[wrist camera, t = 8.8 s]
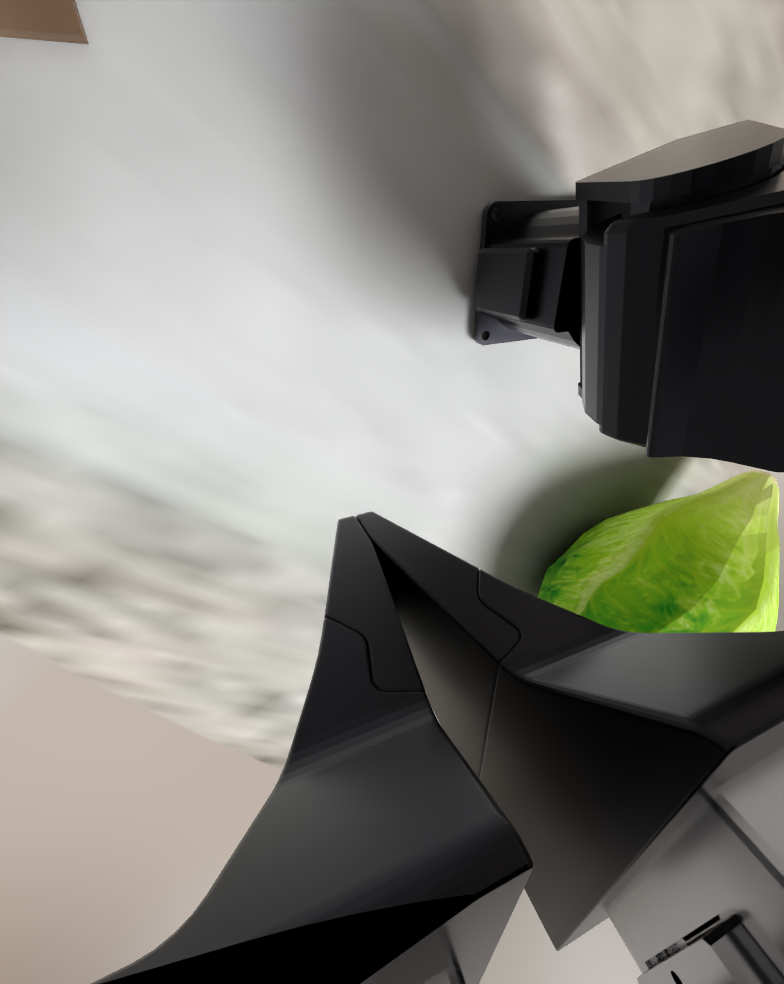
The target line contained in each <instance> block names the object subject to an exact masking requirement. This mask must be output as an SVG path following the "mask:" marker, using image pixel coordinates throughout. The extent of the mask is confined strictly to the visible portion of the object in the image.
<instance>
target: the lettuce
mask: <svg viewBox="0 0 784 984" xmlns="http://www.w3.org/2000/svg"><path fill="white" fill-rule="evenodd" d="M778 511H779V488H778V484H777V480H776V479H775V477H774V476H773V475H771V474H770V473H767V472H762V471H748V472H745V473H741V474H739V475H737V476H735V477H733V478H731V479H729V480H727V481H725V482H722V483H720V484H718V485H716V486H714V487H712V488H710V489H708V490H705V491H703V492H701V493H699V494H697V495H692V496H687V497H682V498H677V499H672V500H668V501H664V502H661V503H657V504H653V505H650V506H646V507H643V508H639V509H635V510H632V511H629V512H626V513H623V514H620V515H617V516H614V517H611V518H608V519H606V520H604V521H602V522H601V523H599V524H598V525H596V526H594V527H593V528H591V529H590V530H588V531H586V532H585V533H583V534H582V535H581V536H580V537H579V538H578V540H577V541H576V542H575V543H574V544H573V545H572V546H571V547H570V548H569V549H568V550H567V551H566V552H565V553H564V554H563V555H562V556H561V557H560V558H559V559H557V560H556V561H555V562H554V563H553V564H552V565H551V566H550V567H549V568H548V569H547V570H546V573H545V576H544V579H543V582H542V585H541V588H540V590H539V593H538V596H537V597H538V598H541V599H543V600H545V601H548V602H550V603H552V604H555V605H557V606H559V607H562V608H564V609H566V610H569V611H571V612H574V613H576V614H578V615H581V616H583V617H585V618H588V619H590V620H592V621H595V622H597V623H600V624H602V625H605V626H608V627H611V628H614V629H618V630H622V631H627V632H635V633H712V632H774V631H775V629H776V623H777V617H778V603H779V551H780V544H779V535H778V527H777V522H778Z"/></svg>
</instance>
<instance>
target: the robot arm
mask: <svg viewBox="0 0 784 984" xmlns="http://www.w3.org/2000/svg"><path fill="white" fill-rule="evenodd" d="M576 199H577V200H562V201H497V202H492V203H489V204H488V205H487V206H486V207H485V209H484V211H483V216H482V230H481V244H480V252H479V254H478V261H477V276H476V290H475V308H476V315H475V330H474V339H475V341H476V342H477V343H479V344H481V345H489V344H497V343H504V342H512V341H519V340H527V339H534V338H541V339H544V340H548V341H552V342H555V343H559V344H563V345H566V346H570V347H574V348H577V349H580V382H579V384H578V394H579V396H580V397H581V398H582V402H583V406H584V410H585V413H586V414H587V415H589V416H590V417H591V418H592V419H593V420H594V421H595V422H596V423H597V424H599V430H600V432H601V433H603V434H605V435H607V436H609V437H612V438H614V439H617V440H619V441H623V442H627V443H631V444H635V445H639V446H643V447H646V456H648V457H675V456H686V457H699V458H711V459H717V460H722V461H728V462H733V463H737V464H742V465H746V466H751V467H755V468H760V469H764V470H768V471H773V472H784V129H783V128H779V127H775V126H771V125H767V124H763V123H759V122H755V121H751V120H746V121H742V122H738V123H734V124H731V125H727V126H724V127H720V128H716V129H713V130H709V131H706V132H702V133H699V134H695V135H692V136H688V137H684V138H681V139H678V140H675V141H672V142H670V143H668V144H665V145H663V146H660V147H658V148H656V149H653V150H651V151H648V152H646V153H644V154H641V155H639V156H636V157H634V158H632V159H629V160H627V161H624V162H622V163H620V164H617V165H615V166H612V167H610V168H608V169H605V170H603V171H600V172H598V173H596V174H593V175H591V176H588V177H586V178H584V179H581V180H579V181H577V182H576ZM493 210H495V211H496V217H495V219H494V220H493V219H492V215H491V214H492V211H493ZM484 331H486V335H485V337H484V338H483V339H482V334H483V332H484ZM432 709H433V710H432ZM433 711H434V712H433ZM434 713H435V714H434ZM435 715H436V716H435ZM436 717H437V718H436ZM437 719H438V720H437ZM438 721H439V722H440V724H441V725H440V724H439V722H438ZM441 726H442V727H441ZM523 889H525V890H526V893H527V894H528V896H529V898H530V900H531V902H532V904H533V906H534V908H535V910H536V912H537V914H538V916H539V918H540V920H541V922H542V924H543V926H544V928H545V929H546V931H547V933H548V935H549V937H550V939H551V941H552V943H553V945H554V947H555V948H556V950H557V951H559V950H560V949H561V948H563V947H565V946H566V945H568V944H569V943H571V942H572V941H574V940H575V939H577V938H578V937H580V936H581V935H583V934H584V933H586V932H587V931H589V930H590V929H592V928H593V927H595V926H596V925H598V924H599V923H601V922H602V921H604V920H605V919H607V918H608V917H610V919H611V921H612V922H613V924H614V926H615V928H616V929H617V931H618V933H619V935H620V936H621V938H622V940H623V941H624V943H625V945H626V946H627V948H628V950H629V952H630V953H631V955H632V957H633V958H634V960H635V962H636V964H637V965H638V967H639V969H640V970H641V972H642V975H640V976H639V977H638V978H637V980H638V983H639V984H784V631H774V632H712V633H635V632H627V631H622V630H618V629H614V628H611V627H608V626H605V625H602V624H600V623H597V622H595V621H592V620H590V619H588V618H585V617H583V616H581V615H578V614H576V613H574V612H571V611H569V610H566V609H564V608H562V607H559V606H557V605H555V604H552V603H550V602H548V601H545V600H543V599H541V598H538V597H536V596H534V595H532V594H529V593H527V592H525V591H523V590H520V589H518V588H516V587H514V586H512V585H510V584H508V583H506V582H504V581H502V580H500V579H498V578H496V577H494V576H492V575H490V574H488V573H487V572H485V571H483V570H479V569H478V568H477V567H475V566H473V565H471V564H469V563H468V562H466V561H464V560H462V559H460V558H458V557H456V556H454V555H453V554H451V553H449V552H447V551H445V550H443V549H441V548H440V547H438V546H436V545H434V544H432V543H430V542H428V541H426V540H425V539H423V538H421V537H419V536H417V535H415V534H413V533H411V532H410V531H408V530H406V529H404V528H402V527H400V526H398V525H396V524H395V523H393V522H391V521H389V520H387V519H385V518H383V517H381V516H380V515H378V514H376V513H374V512H367V513H363V514H359V515H357V516H356V517H354V516H351V517H347V518H343V519H340V520H339V521H338V524H337V532H336V539H335V546H334V553H333V560H332V567H331V574H330V582H329V589H328V596H327V603H326V610H325V620H324V623H323V630H322V636H321V642H320V647H319V653H318V657H317V661H316V665H315V669H314V673H313V676H312V680H311V683H310V687H309V690H308V693H307V697H306V700H305V703H304V706H303V710H302V713H301V716H300V720H299V723H298V726H297V729H296V733H295V736H294V739H293V743H292V746H291V749H290V752H289V755H288V758H287V760H286V763H285V766H284V768H283V771H282V773H281V775H280V778H279V780H278V782H277V784H276V786H275V788H274V790H273V791H272V793H271V795H270V796H269V798H268V799H267V801H266V802H265V804H264V806H263V807H262V809H261V810H260V812H259V813H258V815H257V817H256V818H255V820H254V821H253V823H252V824H251V826H250V828H249V829H248V831H247V832H246V834H245V835H244V837H243V839H242V840H241V842H240V843H239V845H238V846H237V848H236V849H235V851H234V853H233V854H232V856H231V857H230V859H229V860H228V862H227V864H226V865H225V867H224V868H223V870H222V871H221V873H220V875H219V876H218V878H217V879H216V881H215V883H214V884H213V886H212V887H211V889H210V890H209V892H208V893H207V895H206V896H205V898H204V899H203V901H202V902H201V903H200V905H199V906H198V907H197V909H196V910H195V911H194V913H193V914H192V915H191V916H190V917H189V918H188V919H187V920H186V921H185V923H184V924H183V925H182V926H181V927H180V928H179V929H178V930H177V931H176V932H175V933H174V934H173V935H171V936H170V937H169V938H168V939H167V940H166V941H164V942H163V943H162V944H161V945H159V946H158V947H157V948H156V949H155V950H153V951H152V952H150V953H148V954H147V955H145V956H143V957H142V958H140V959H138V960H137V961H135V962H134V963H132V964H130V965H128V966H126V967H124V968H122V969H120V970H118V971H116V972H114V973H112V974H110V975H108V976H106V977H104V978H102V979H100V980H97V981H95V982H93V983H92V984H479V982H480V980H481V978H482V976H483V974H484V971H485V970H486V967H487V965H488V963H489V961H490V959H491V957H492V955H493V953H494V950H495V948H496V946H497V944H498V942H499V940H500V937H501V935H502V933H503V931H504V929H505V927H506V925H507V923H508V921H509V918H510V916H511V914H512V912H513V910H514V908H515V906H516V904H517V901H518V899H519V897H520V895H521V893H522V891H523Z"/></svg>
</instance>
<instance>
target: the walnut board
mask: <svg viewBox="0 0 784 984" xmlns="http://www.w3.org/2000/svg"><path fill="white" fill-rule="evenodd" d="M0 36H1V37H12V38H24V39H36V40H47V41H59V42H71V43H82V44H88V41H87V37H86V34H85V31H84V28H83V25H82V21H81V18H80V15H79V12H78V8H77V5H76V2H75V0H0Z"/></svg>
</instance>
